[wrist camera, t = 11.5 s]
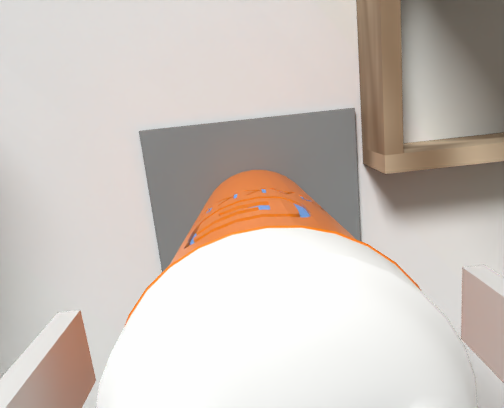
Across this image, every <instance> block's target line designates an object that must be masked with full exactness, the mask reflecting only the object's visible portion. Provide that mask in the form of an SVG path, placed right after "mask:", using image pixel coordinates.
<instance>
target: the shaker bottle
mask: <svg viewBox="0 0 504 408" xmlns="http://www.w3.org/2000/svg"><path fill="white" fill-rule="evenodd" d="M96 408H478V404H477V392H476V381H475V376H474V372H473V369H472V366H471V363H470V360H469V357H468V354H467V351H466V348H465V346H464V344H463V343H462V341H461V339H460V338H459V336H458V335H457V333H456V331H455V330H454V328H453V326H452V325H451V323H450V322H449V320H448V318H447V317H446V316H445V315H444V314H443V313H442V312H441V311H440V310H439V309H438V308H437V307H436V306H435V305H434V304H433V303H432V302H431V301H430V299H429V298H428V297H427V296H426V295H425V294H424V293H423V292H422V291H421V289H420V288H419V286H418V285H417V284H416V283H415V282H414V281H413V280H412V279H411V278H410V277H409V276H408V275H407V274H406V273H405V272H404V271H403V270H402V268H401V267H400V266H399V265H398V264H397V263H396V262H394V261H393V260H391V259H390V258H388V257H387V256H385V255H383V254H382V253H380V252H379V251H377V250H376V249H374V248H373V247H371V246H370V245H368V244H366V243H364V242H361V241H359V240H357V239H355V238H354V237H353V236H352V235H351V234H350V233H349V232H348V231H347V230H346V229H345V228H344V227H342V226H341V225H340V224H339V223H338V222H337V221H336V220H335V219H334V218H333V217H332V216H331V215H329V214H328V213H327V212H326V211H325V210H324V209H323V208H322V207H321V206H320V205H319V204H317V203H316V202H315V201H314V200H313V199H312V198H311V197H310V196H309V195H308V194H307V193H306V192H304V191H303V190H302V189H301V188H300V187H299V186H298V185H297V184H296V183H295V182H293V181H292V180H290V179H289V178H287V177H286V176H284V175H281V174H279V173H276V172H273V171H267V170H250V171H245V172H241V173H238V174H236V175H234V176H231V177H230V178H228V179H227V180H225V181H224V182H222V183H221V184H220V185H219V186H218V187H217V188H216V189H215V190H214V192H213V193H212V195H211V196H210V198H209V199H208V201H207V202H206V204H205V206H204V208H203V209H202V211H201V213H200V214H199V216H198V218H197V219H196V221H195V223H194V224H193V226H192V228H191V230H190V231H189V233H188V235H187V236H186V238H185V240H184V241H183V243H182V245H181V246H180V248H179V250H178V251H177V253H176V255H175V257H174V258H173V260H172V262H171V263H170V265H169V266H168V267H167V268H166V269H165V270H164V271H163V272H162V273H161V274H160V275H159V276H158V277H157V278H156V279H155V280H154V281H153V282H152V283H151V284H150V285H149V286H148V287H147V288H146V290H145V291H144V293H143V294H142V296H141V297H140V299H139V300H138V302H137V303H136V305H135V306H134V308H133V310H132V311H131V313H130V314H129V316H128V319H127V321H126V324H125V326H124V329H123V331H122V333H121V335H120V337H119V338H118V340H117V342H116V344H115V346H114V348H113V350H112V352H111V354H110V357H109V359H108V362H107V365H106V367H105V370H104V373H103V375H102V378H101V381H100V383H99V388H98V395H97V403H96Z"/></svg>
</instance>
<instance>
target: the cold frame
mask: <svg viewBox="0 0 504 408" xmlns="http://www.w3.org/2000/svg"><path fill="white" fill-rule="evenodd" d="M356 2H357V26H358V50H359V74H360V98H361V122H362V146H363V164H365V165H367V166H369V167H371V168H373V169H376V170H378V171H380V172H382V173H384V174H390V173H399V172H408V171H417V170H427V169H436V168H445V167H454V166H463V165H472V164H481V163H491V162H500V161H504V133H496V134H486V135H477V136H468V137H459V138H450V139H440V140H431V141H422V142H413V143H404V144H403V105H402V52H401V0H356Z"/></svg>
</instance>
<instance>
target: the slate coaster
mask: <svg viewBox="0 0 504 408" xmlns="http://www.w3.org/2000/svg"><path fill="white" fill-rule="evenodd" d="M139 135H140V141H141V147H142V153H143V159H144V165H145V171H146V177H147V183H148V189H149V195H150V201H151V207H152V213H153V219H154V225H155V231H156V237H157V243H158V249H159V255H160V261H161V267H162V272H163V271H164V270H165V269H166V268H167V267H168V266H169V265H170V263H171V262H172V260H173V258H174V257H175V255H176V253H177V251H178V250H179V248H180V246H181V245H182V243H183V241H184V240H185V238H186V236H187V235H188V233H189V231H190V230H191V228H192V226H193V224H194V223H195V221H196V219H197V218H198V216H199V214H200V213H201V211H202V209H203V208H204V206H205V204H206V202H207V201H208V199H209V198H210V196H211V195H212V193H213V192H214V190H215V189H216V188H217V187H218V186H219V185H220V184H221V183H222V182H224V181H225V180H227V179H228V178H230V177H231V176H234V175H236V174H238V173H241V172H245V171H250V170H267V171H273V172H276V173H279V174H281V175H284V176H286V177H287V178H289V179H290V180H292V181H293V182H295V183H296V184H297V185H298V186H299V187H300V188H301V189H302V190H303V191H304V192H306V193H307V194H308V195H309V196H310V197H311V198H312V199H313V200H314V201H315V202H316V203H317V204H319V205H320V206H321V207H322V208H323V209H324V210H325V211H326V212H327V213H328V214H329V215H331V216H332V217H333V218H334V219H335V220H336V221H337V222H338V223H339V224H340V225H341V226H342V227H344V228H345V229H346V230H347V231H348V232H349V233H350V234H351V235H352V236H353V237H354V238H355V239H357V240H359V241H361V239H360V217H359V195H358V173H357V151H356V129H355V108H348V109H338V110H329V111H320V112H310V113H301V114H292V115H283V116H273V117H264V118H255V119H246V120H236V121H227V122H218V123H208V124H199V125H190V126H181V127H171V128H162V129H153V130H143V131H139Z"/></svg>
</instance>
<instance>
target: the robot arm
mask: <svg viewBox="0 0 504 408" xmlns="http://www.w3.org/2000/svg"><path fill="white" fill-rule="evenodd" d="M461 339H462V340H463V341H464V342H465V343H466V344H467V345H468V346H469V347H470V348H471V349H472V351H473V352H474V353H475V354H476V355H477V356H478V357H479V358H480V359H481V360H482V361H483V362H484V363H485V364H486V365H487V366H488V367H489V368H490V369H491V370H492V371H493V372H494V373H495V374H496V376H497V377H498V378H499V379H500V380H501V381H502V382H503V383H504V277H503V276H501V275H500V274H498V273H497V272H495V271H493V270H492V269H490V268H489V267H487V266H486V265H477V266H468V267H462V323H461ZM95 381H96V378H95V374H94V369H93V365H92V360H91V356H90V351H89V347H88V342H87V338H86V333H85V329H84V324H83V320H82V315H81V311H80V310H75V311H66V312H58V313H57V314H56V315H55V316H54V317H53V319H52V320H51V321H50V322H49V323H48V324H47V326H46V327H45V328H44V329H43V330H42V331H41V332H40V334H39V335H38V336H37V337H36V338H35V339H34V341H33V342H32V343H31V344H30V345H29V346H28V347H27V349H26V350H25V351H24V352H23V353H22V354H21V356H20V357H19V358H18V359H17V360H16V361H15V362H14V364H13V365H12V366H11V367H10V368H9V369H8V371H7V372H6V373H5V374H4V375H3V376H2V378H1V379H0V408H82V406H83V404H84V403H85V401H86V399H87V397H88V395H89V393H90V391H91V389H92V387H93V385H94V383H95Z"/></svg>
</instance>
